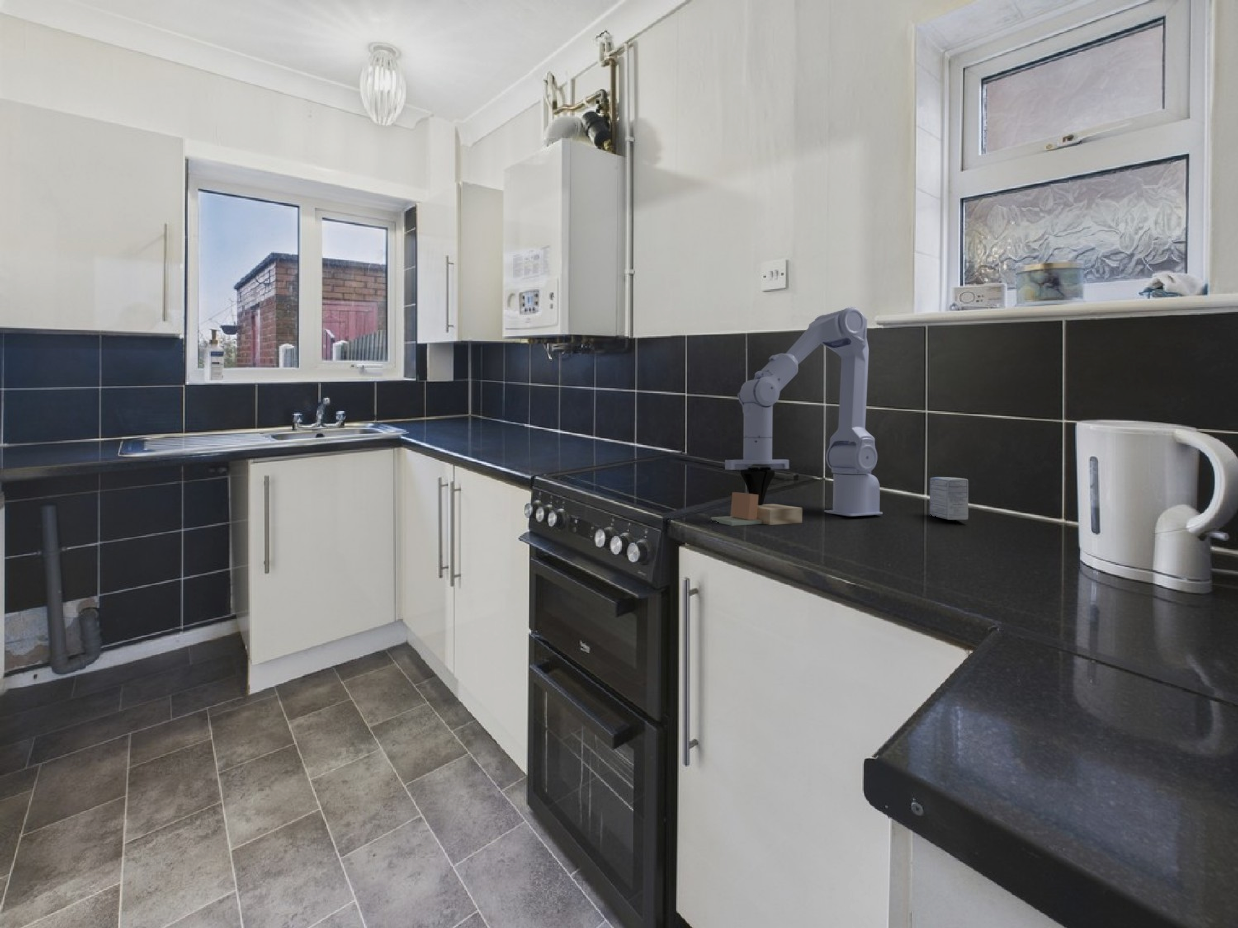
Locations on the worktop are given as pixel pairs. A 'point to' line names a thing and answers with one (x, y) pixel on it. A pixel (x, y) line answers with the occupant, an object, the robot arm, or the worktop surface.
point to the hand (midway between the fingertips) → (757, 504)
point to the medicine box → (949, 498)
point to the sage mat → (735, 521)
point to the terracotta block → (744, 506)
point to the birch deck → (779, 514)
